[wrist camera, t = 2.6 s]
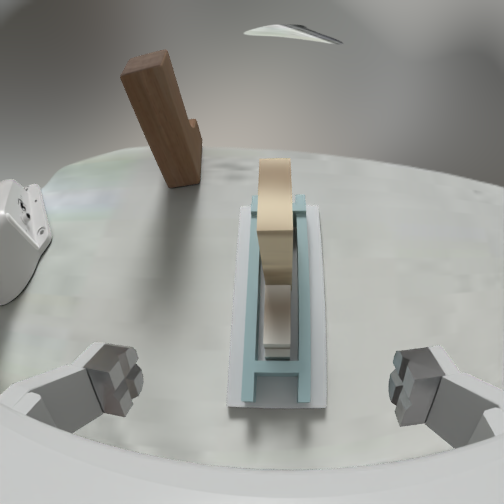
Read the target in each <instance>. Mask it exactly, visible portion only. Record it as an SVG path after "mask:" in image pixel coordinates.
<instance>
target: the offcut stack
mask: <svg viewBox="0 0 504 504" xmlns="http://www.w3.org/2000/svg"><path fill="white" fill-rule="evenodd" d="M290 340H291V285H265V304H264V333H263V345H264V348H265V354H264V357H265V359H266V360H290Z"/></svg>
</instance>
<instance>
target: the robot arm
mask: <svg viewBox="0 0 504 504" xmlns="http://www.w3.org/2000/svg"><path fill="white" fill-rule="evenodd" d="M51 239H52V234H51V230H50V226H49V222H48V218H47V214H46V210H45V206H44V202H43V197H42V193H41V188H40V186H38V185H37V184H31V185H28V186H26V187H24V188H23V187H22V186H21V185H20V184H19V183H18V182H17V181H15V180H13V179H7V180H4V181H2V182H0V305H4V304H7V303H9V302H10V301H12V300H13V299H14V298H16V297H17V296H18V295H19V294H20V293H21V291H22V290H23V289H24V288H25V286H26V285H27V283H28V282H29V280H30V278H31V276H32V275H33V272H34V270H35V268H36V265H37V263H38V260H39V258H40V256H41V254H42V253H43V252H44V251H45V249H46V248H47V246H48V245H49V243H50V242H51ZM137 360H138V355H137V352H136V350H135V349H134V348H133V347H129V346H122V345H115V344H109V343H108V344H107V343H102V342H93V343H92V344H91V345H90V346H89V347H88V348H87V349H86V350H85V351H84V352H83V353H82V354H81V355H80V356H79V357H78V358H77V359H76V360H75V361H74V362H73V363H72V364H71V365H68V364H66V365H63V366H61V367H58V368H55V369H53V370H50V371H47V372H44V373H41V374H39V375H36V376H33V377H30V378H27V379H24V380H22V381H19V382H16V383H13V384H12V385H11V386H10V387H8V388H7V389H6V390H5V391H4V392H3V393H2V394H1V395H0V504H504V390H503V389H500V388H498V387H496V386H494V385H492V384H490V383H487V382H485V381H483V380H481V379H479V378H477V377H474V376H472V375H470V374H468V373H466V372H464V373H461V372H460V370H459V369H458V368H457V366H456V365H455V363H454V362H453V361H452V359H451V358H450V356H449V355H448V354H447V352H446V351H445V349H444V348H443V347H442V346H440V345H437V346H431V347H426V348H418V349H410V350H402V351H396V353H395V355H394V360H393V364H394V366H395V368H396V369H395V370H394V371H393V372H392V373H391V374H390V379H389V397H390V400H391V402H392V403H393V404H395V405H396V409H395V414H396V417H397V420H398V423H399V426H400V427H401V426H409V425H416V424H423V423H425V425H427V426H428V427H429V428H430V429H431V430H433V431H434V432H435V433H436V434H437V435H439V436H440V437H441V438H442V439H444V440H445V441H446V442H447V443H449V444H450V445H451V446H452V447H453V448H455V449H452V450H448V451H444V452H440V453H435V454H431V455H427V456H422V457H417V458H412V459H407V460H401V461H395V462H389V463H382V464H374V465H366V466H357V467H345V468H331V469H307V470H276V469H251V468H236V467H225V466H215V465H207V464H199V463H192V462H185V461H179V460H173V459H168V458H162V457H157V456H152V455H148V454H143V453H139V452H134V451H130V450H126V449H122V448H118V447H115V446H111V445H108V444H104V443H101V442H97V441H94V440H91V439H88V438H84V437H81V436H78V435H75V434H73V432H75V431H76V430H78V429H80V428H81V427H83V426H85V425H86V424H88V423H89V422H91V421H93V420H94V419H96V418H97V417H99V416H101V415H102V414H103V413H107V414H112V415H117V416H122V417H126V415H127V413H128V412H129V410H130V409H131V407H132V405H133V402H132V399H133V398H135V397H137V396H139V394H140V392H141V390H142V386H143V374H142V370H141V369H140V367H139V366H138V365H137V364H136V362H137Z"/></svg>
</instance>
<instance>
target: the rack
mask: <svg viewBox="0 0 504 504" xmlns="http://www.w3.org/2000/svg"><path fill="white" fill-rule="evenodd" d="M257 208H258V195H256V196H252V204H251V206H240V217H239V230H238V243H237V256H236V269H235V283H234V297H233V311H232V325H231V340H230V355H229V371H228V387H227V404H226V406H229V407H247V408H326V397H327V368H326V321H325V296H324V276H323V260H322V245H321V232H320V220H319V209H318V205H306V203H305V195H296V203H292V212H293V259H292V291H291V340H290V360H266V359H265V357H264V354H265V348H264V345H263V333H264V304H265V279H264V273H263V267H262V261H261V255H260V249H259V243H258V237H257Z"/></svg>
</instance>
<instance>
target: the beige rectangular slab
mask: <svg viewBox="0 0 504 504" xmlns="http://www.w3.org/2000/svg"><path fill="white" fill-rule="evenodd" d="M257 237H258V243H259V249H260V255H261V261H262V267H263V273H264V279H265V285H291V291H292V259H293V212H292V185H291V163H290V158H270V159H260V161H259V184H258V208H257Z"/></svg>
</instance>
